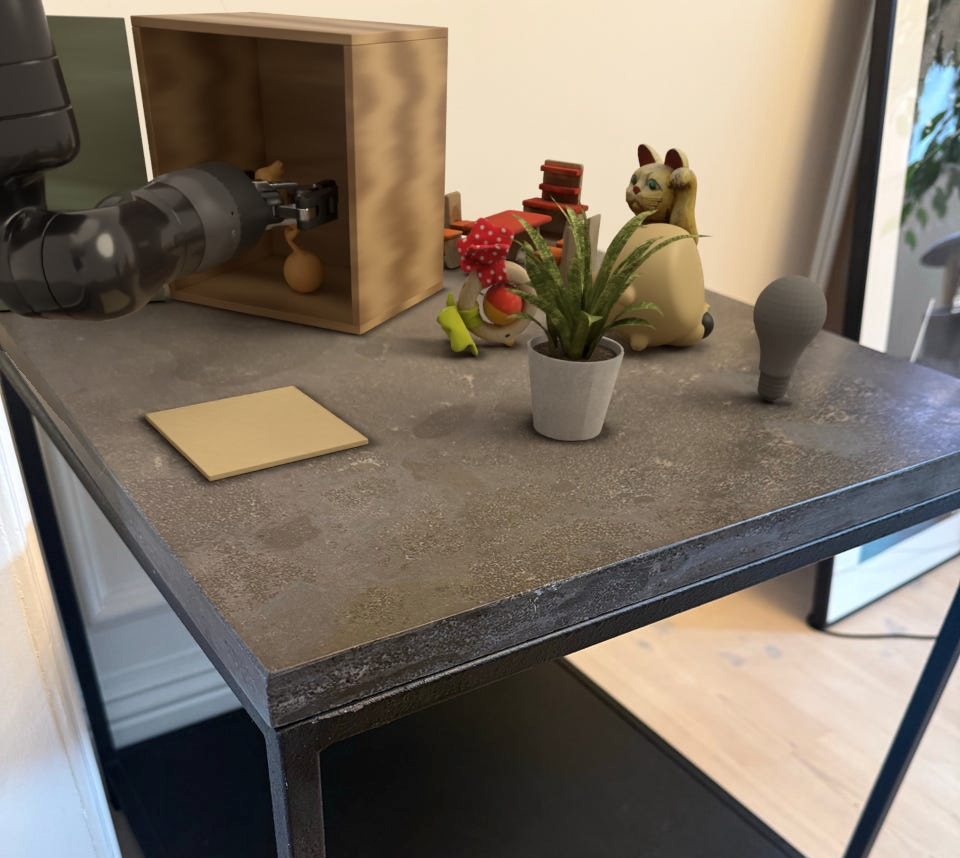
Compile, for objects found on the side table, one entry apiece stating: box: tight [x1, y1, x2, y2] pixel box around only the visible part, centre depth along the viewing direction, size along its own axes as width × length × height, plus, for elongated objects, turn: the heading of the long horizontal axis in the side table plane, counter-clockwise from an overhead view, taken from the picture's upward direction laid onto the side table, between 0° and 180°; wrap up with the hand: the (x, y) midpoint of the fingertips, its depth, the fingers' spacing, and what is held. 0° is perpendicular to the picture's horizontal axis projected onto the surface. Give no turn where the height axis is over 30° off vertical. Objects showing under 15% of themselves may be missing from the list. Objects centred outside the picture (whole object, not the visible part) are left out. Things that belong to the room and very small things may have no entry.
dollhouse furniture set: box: [443, 159, 602, 292], centre depth 109 cm, size 19×19×10 cm
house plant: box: [499, 198, 713, 442], centre depth 68 cm, size 14×14×16 cm
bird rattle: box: [436, 217, 538, 357], centre depth 84 cm, size 6×11×9 cm
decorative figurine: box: [625, 143, 699, 247], centre depth 97 cm, size 10×8×15 cm
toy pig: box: [592, 223, 715, 352], centre depth 87 cm, size 10×12×11 cm
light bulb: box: [752, 274, 828, 402], centre depth 76 cm, size 6×6×10 cm
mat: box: [144, 385, 369, 482], centre depth 69 cm, size 12×12×1 cm
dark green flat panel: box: [0, 14, 166, 311], centre depth 85 cm, size 7×22×23 cm, turn 112°
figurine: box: [255, 161, 324, 293], centre depth 92 cm, size 8×6×12 cm
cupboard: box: [129, 11, 449, 336], centre depth 91 cm, size 18×22×24 cm
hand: (292, 186), depth 90 cm, fingers open, 8 cm apart
